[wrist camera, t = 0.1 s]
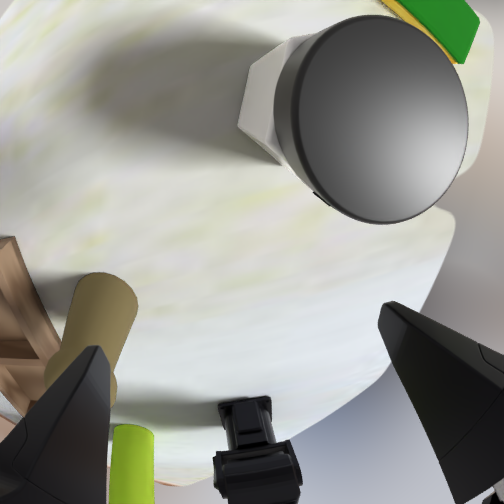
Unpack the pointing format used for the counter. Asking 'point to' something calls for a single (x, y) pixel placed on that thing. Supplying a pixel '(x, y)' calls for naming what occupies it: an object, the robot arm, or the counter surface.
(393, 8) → the dish sponge
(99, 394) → the robot arm
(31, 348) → the holder
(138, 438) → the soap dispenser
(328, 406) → the counter surface
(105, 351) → the cork
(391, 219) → the jar
